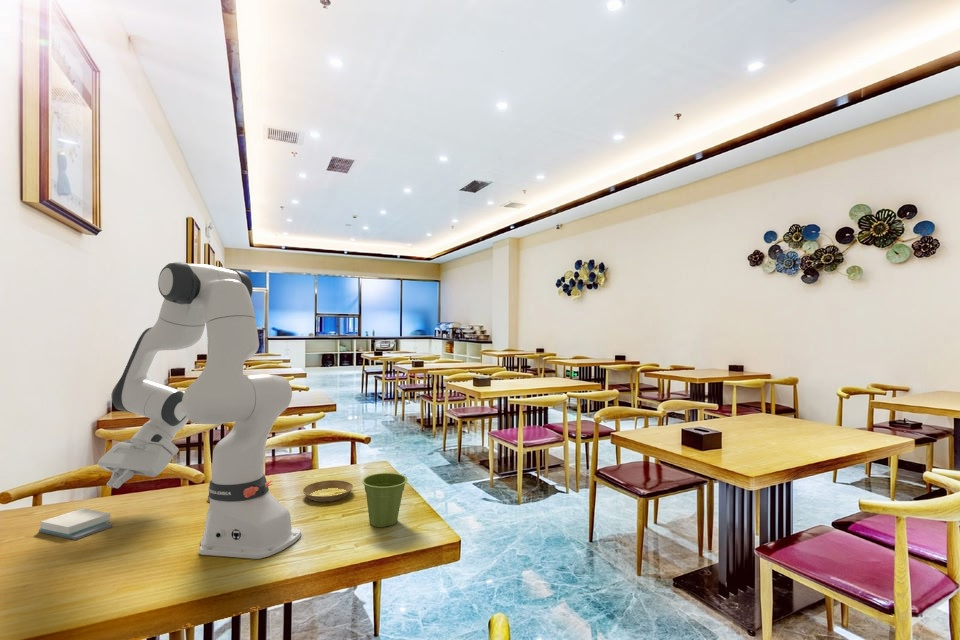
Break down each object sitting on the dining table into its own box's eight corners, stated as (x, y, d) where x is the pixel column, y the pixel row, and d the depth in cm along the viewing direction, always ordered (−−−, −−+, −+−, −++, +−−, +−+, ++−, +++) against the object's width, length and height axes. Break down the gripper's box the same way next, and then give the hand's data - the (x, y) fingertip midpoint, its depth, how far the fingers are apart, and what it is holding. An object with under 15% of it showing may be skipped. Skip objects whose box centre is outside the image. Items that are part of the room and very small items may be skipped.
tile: (110, 513, 114) (68, 527, 105) (109, 521, 114) (68, 535, 105) (83, 508, 117) (40, 521, 108) (82, 515, 117) (40, 529, 108)
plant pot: (359, 533, 111) (360, 487, 111) (362, 515, 123) (363, 473, 123) (407, 530, 113) (408, 485, 114) (405, 512, 125) (406, 471, 126)
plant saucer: (361, 490, 143) (361, 482, 143) (336, 507, 128) (337, 498, 128) (320, 486, 146) (320, 478, 146) (291, 502, 132) (292, 493, 132)
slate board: (112, 526, 112) (112, 524, 112) (75, 540, 104) (75, 537, 105) (76, 519, 116) (77, 517, 116) (38, 531, 108) (38, 529, 108)
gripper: (116, 433, 129) (75, 476, 120) (169, 438, 124) (131, 484, 114) (131, 445, 134) (93, 488, 124) (183, 450, 128) (147, 496, 118)
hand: (111, 486), depth 119 cm, fingers closed
